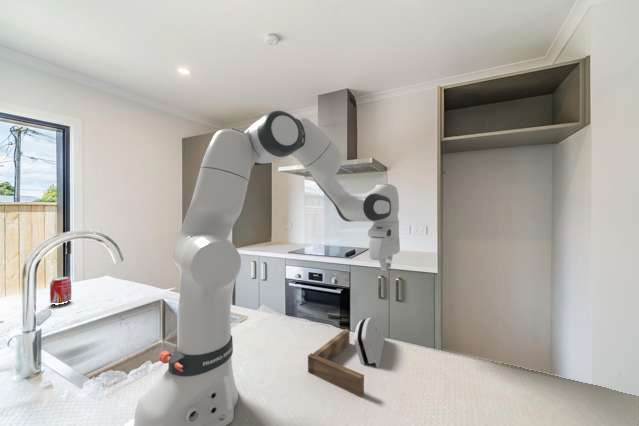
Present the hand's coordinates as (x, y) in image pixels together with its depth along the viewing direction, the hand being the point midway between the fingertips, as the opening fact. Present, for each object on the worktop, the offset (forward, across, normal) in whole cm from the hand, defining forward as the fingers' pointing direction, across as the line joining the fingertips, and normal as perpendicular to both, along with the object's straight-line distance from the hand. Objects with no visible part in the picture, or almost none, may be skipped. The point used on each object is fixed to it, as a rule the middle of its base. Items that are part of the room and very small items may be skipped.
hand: (385, 268), depth 91 cm
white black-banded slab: (+24, +14, 0) cm, 27 cm away
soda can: (+23, +62, -136) cm, 151 cm away
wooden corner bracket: (+23, +24, -1) cm, 33 cm away
